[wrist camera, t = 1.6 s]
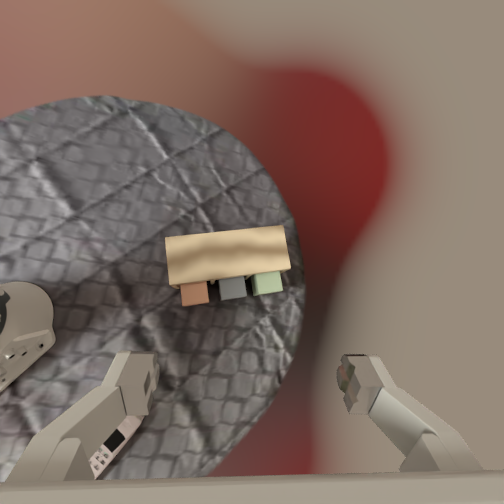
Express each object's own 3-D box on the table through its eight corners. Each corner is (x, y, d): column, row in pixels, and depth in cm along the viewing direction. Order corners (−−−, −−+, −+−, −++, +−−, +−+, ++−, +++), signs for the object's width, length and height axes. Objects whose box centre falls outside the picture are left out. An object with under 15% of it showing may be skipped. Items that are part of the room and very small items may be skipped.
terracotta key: (209, 302, 58) (208, 301, 51) (185, 306, 57) (182, 305, 50) (205, 271, 59) (204, 266, 52) (182, 274, 58) (178, 269, 51)
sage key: (274, 292, 60) (282, 290, 53) (253, 295, 59) (259, 294, 53) (269, 262, 62) (277, 257, 55) (248, 265, 61) (253, 260, 54)
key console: (278, 274, 62) (290, 268, 52) (176, 289, 57) (169, 284, 48) (271, 237, 63) (282, 225, 54) (172, 249, 59) (164, 237, 49)
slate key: (242, 297, 59) (246, 296, 52) (220, 301, 58) (221, 299, 51) (238, 267, 60) (241, 261, 53) (216, 269, 59) (217, 264, 53)
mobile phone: (-4, 540, 40) (121, 398, 46) (23, 511, 46) (131, 388, 52) (26, 567, 40) (147, 421, 46) (48, 534, 46) (154, 408, 52)
